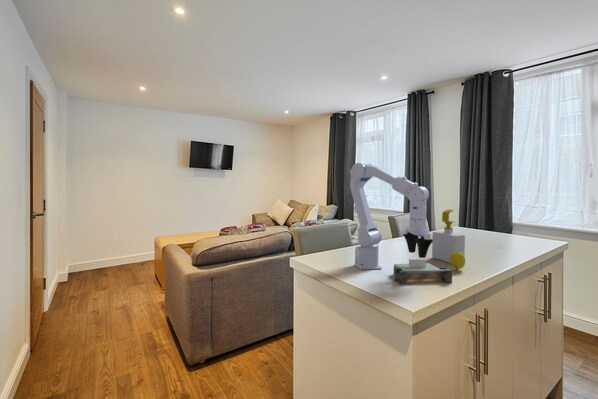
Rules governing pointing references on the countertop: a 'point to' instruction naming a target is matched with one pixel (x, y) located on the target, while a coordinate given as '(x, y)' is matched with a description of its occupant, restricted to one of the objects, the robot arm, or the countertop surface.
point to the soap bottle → (447, 241)
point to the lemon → (457, 260)
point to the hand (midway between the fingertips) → (416, 254)
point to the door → (419, 267)
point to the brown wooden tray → (422, 276)
